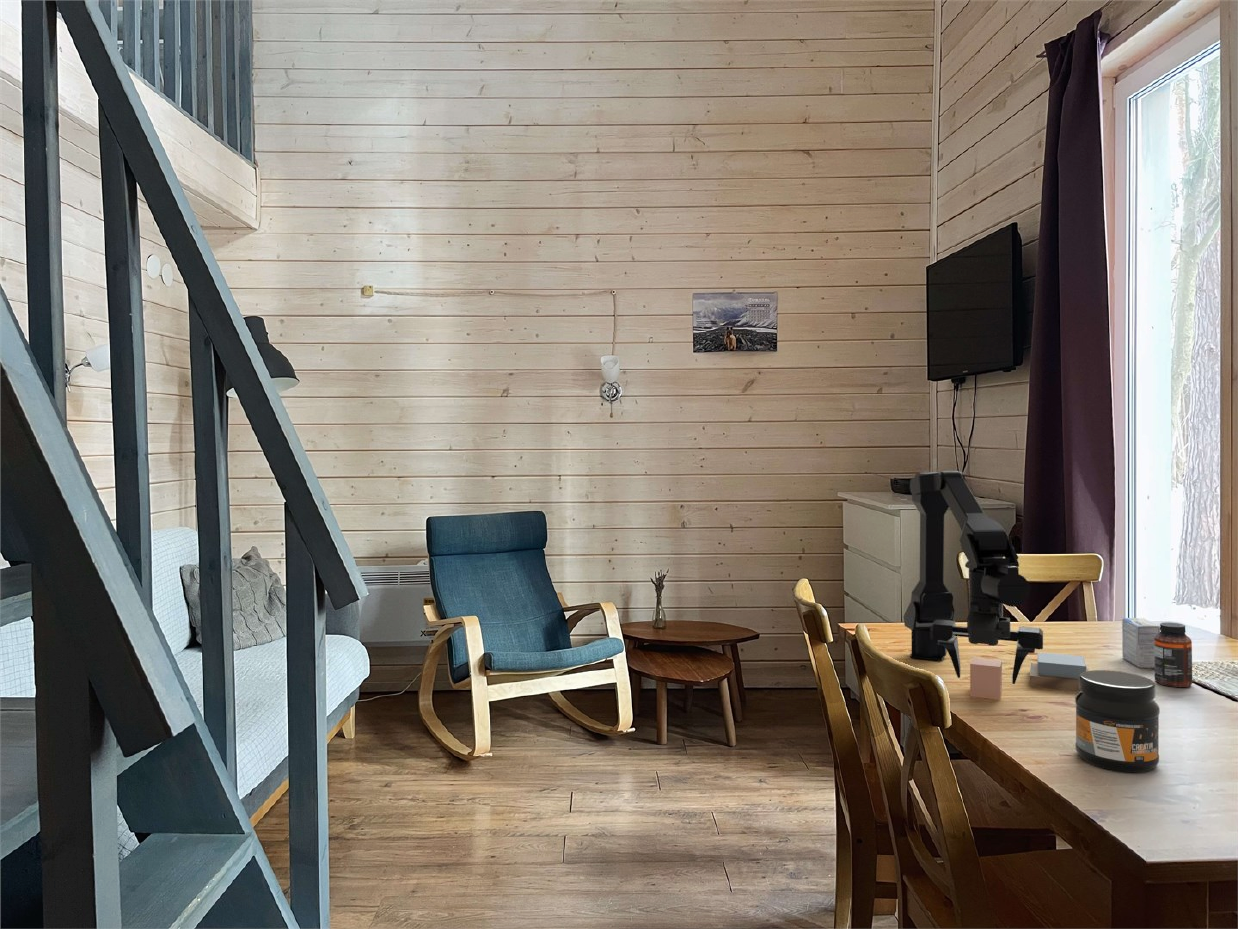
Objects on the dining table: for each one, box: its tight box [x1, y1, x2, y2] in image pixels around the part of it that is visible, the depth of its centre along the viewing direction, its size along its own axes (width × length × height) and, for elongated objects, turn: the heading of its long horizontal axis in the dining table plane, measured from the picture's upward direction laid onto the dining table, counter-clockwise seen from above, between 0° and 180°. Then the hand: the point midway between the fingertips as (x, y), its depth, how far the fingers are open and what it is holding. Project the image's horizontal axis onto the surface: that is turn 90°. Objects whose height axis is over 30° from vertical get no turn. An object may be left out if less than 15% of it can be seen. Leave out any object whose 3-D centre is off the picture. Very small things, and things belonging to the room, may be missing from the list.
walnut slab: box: [1029, 662, 1090, 692], centre depth 159 cm, size 10×10×2 cm
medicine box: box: [1121, 617, 1161, 669], centre depth 171 cm, size 8×4×9 cm, turn 168°
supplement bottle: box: [1154, 621, 1193, 688], centre depth 157 cm, size 6×6×11 cm
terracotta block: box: [969, 657, 1003, 701], centre depth 152 cm, size 5×5×6 cm
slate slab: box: [1036, 651, 1087, 679], centre depth 159 cm, size 8×8×2 cm
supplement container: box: [1074, 669, 1161, 773], centre depth 121 cm, size 10×10×12 cm
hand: (985, 680), depth 153 cm, fingers open, 9 cm apart
